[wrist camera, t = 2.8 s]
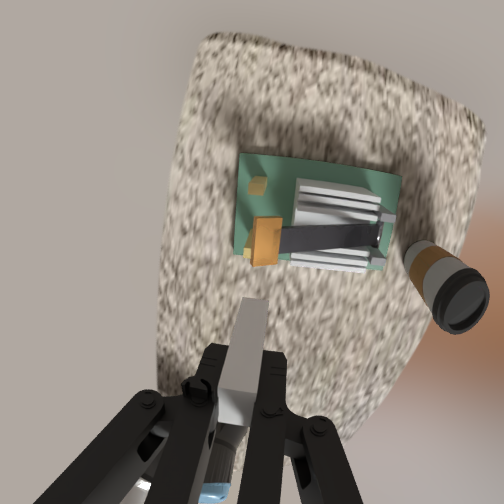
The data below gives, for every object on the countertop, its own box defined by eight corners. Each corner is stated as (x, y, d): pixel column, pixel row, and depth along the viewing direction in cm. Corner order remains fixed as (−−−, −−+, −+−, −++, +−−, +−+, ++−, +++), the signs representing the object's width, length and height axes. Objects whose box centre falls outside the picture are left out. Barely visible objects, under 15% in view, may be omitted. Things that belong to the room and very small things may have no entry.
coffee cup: (446, 262, 37) (495, 311, 23) (408, 290, 40) (447, 349, 26) (430, 222, 35) (487, 262, 21) (388, 252, 38) (432, 306, 24)
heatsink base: (398, 175, 33) (429, 185, 25) (379, 267, 39) (400, 298, 30) (241, 152, 35) (227, 155, 26) (234, 251, 40) (221, 280, 32)
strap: (381, 214, 30) (387, 217, 29) (373, 249, 31) (379, 252, 30) (253, 215, 24) (257, 219, 23) (249, 262, 25) (253, 267, 24)
